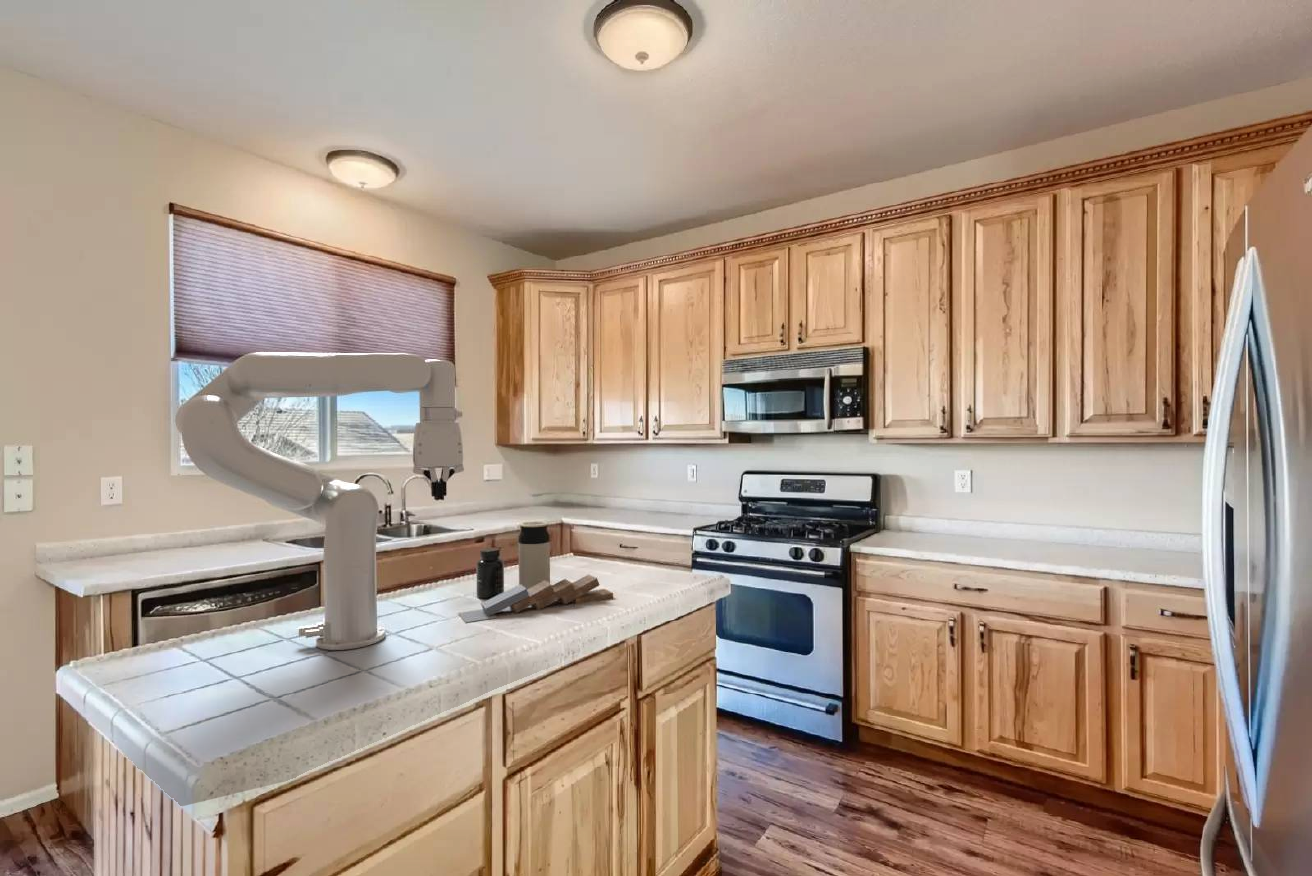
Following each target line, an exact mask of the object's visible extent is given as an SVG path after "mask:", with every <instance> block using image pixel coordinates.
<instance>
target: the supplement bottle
mask: <svg viewBox="0 0 1312 876" xmlns="http://www.w3.org/2000/svg"><path fill="white" fill-rule="evenodd" d="M479 557H480V559H479V560H478V561H477V563H476V567H475V568H476V570H475V571H476V596H477V598H479V599H482V600H489V599H491V598H493V597H495V596H497V595H499V594H501V593H503V592H505V562H504V560H503V559H502V558H500V557H501V549H500V548H498V547H484V548H481V549H480V555H479Z"/></svg>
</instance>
